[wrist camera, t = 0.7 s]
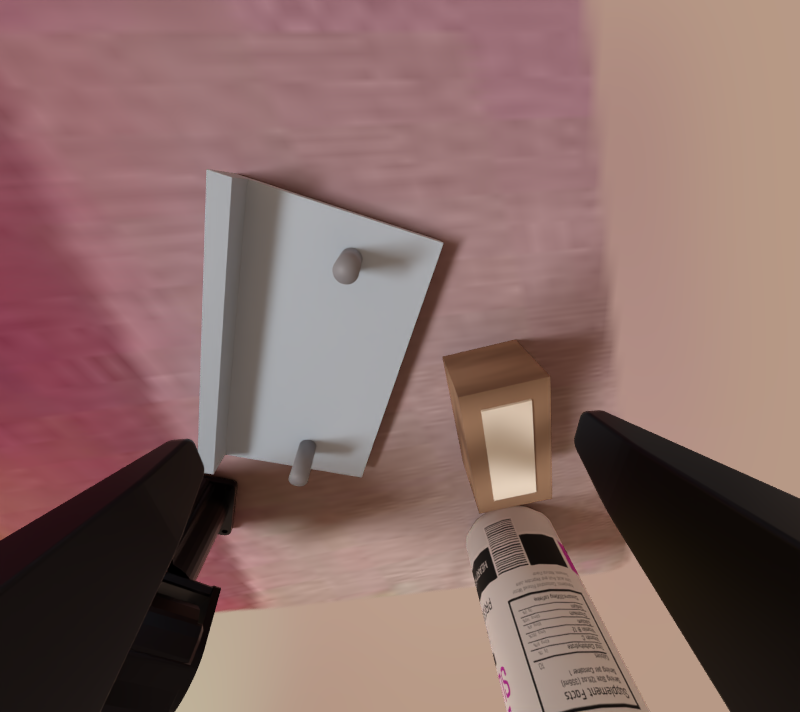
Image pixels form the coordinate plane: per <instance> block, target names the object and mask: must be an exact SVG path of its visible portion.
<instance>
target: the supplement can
mask: <svg viewBox="0 0 800 712" xmlns="http://www.w3.org/2000/svg"><path fill="white" fill-rule="evenodd" d="M466 548H467V552H468V556H469V560H470V564H471V568H472V572H473V576H474V580H475V584H476V588H477V592H478V596H479V600H480V604H481V608H482V612H483V616H484V620H485V625H486V628H487V633H488V637H489V640H490V645H491V649H492V652H493V656H494V661H495V665H496V669H497V673H498V677H499V681H500V685H501V689H502V693H503V697H504V701H505V705H506V709H507V712H650V710H649V709H648V707H647V705H646V703H645V701H644V699H643V697H642V695H641V693H640V691H639V690H638V688H637V686H636V684H635V682H634V680H633V678H632V676H631V674H630V672H629V670H628V669H627V667H626V665H625V663H624V661H623V659H622V657H621V655H620V653H619V651H618V649H617V648H616V646H615V644H614V642H613V640H612V638H611V636H610V634H609V632H608V630H607V628H606V626H605V625H604V623H603V621H602V619H601V617H600V615H599V613H598V611H597V609H596V607H595V605H594V604H593V602H592V600H591V598H590V596H589V594H588V592H587V590H586V588H585V586H584V584H583V583H582V581H581V579H580V577H579V575H578V573H577V571H576V569H575V567H574V565H573V563H572V562H571V560H570V558H569V556H568V554H567V552H566V550H565V548H564V546H563V544H562V542H561V541H560V539H559V537H558V535H557V533H556V531H555V529H554V527H553V525H552V523H551V521H550V520H549V519H548V518H547V517H546V516H545V515H544V514H543V513H541V512H538V511H535V510H533V509H530V508H528V507H525V506H514V507H509V508H504V509H499V510H494V511H490V512H487V513H485V514H484V515H483V516H481V517H480V518H479V519H477V520H476V522H475V523H474V525H473V526H472V528H471V530H470V531H469V533H468V534H467V538H466Z"/></svg>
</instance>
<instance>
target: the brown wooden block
mask: <svg viewBox="0 0 800 712" xmlns="http://www.w3.org/2000/svg"><path fill="white" fill-rule="evenodd" d="M443 362H444V367H445V372H446V378H447V383H448V388H449V393H450V398H451V403H452V408H453V413H454V418H455V423H456V428H457V434H458V439H459V444H460V449H461V454H462V459H463V463H464V466H465V469H466V472H467V475H468V479H469V482H470V485H471V488H472V491H473V494H474V498H475V501H476V504H477V507H478V510H479V513H485V512H490V511H494V510H499V509H504V508H509V507H514V506H518V505H523V504H528V503H533V502H538V501H542V500H547V499H552V461H551V386H550V376H549V374H548V373H547V372H546V371H545V370H544V369H543V368H542V367H541V366H540V365H539V364H538V363H537V362H536V361H535V360H534V359H533V358H532V357H531V355H530V354H529V353H528V352H527V351H526V350H525V349H524V348H523V347H522V346H521V345H520V344H519V343H518V342H517V341H516V340H511V341H507V342H503V343H499V344H494V345H490V346H486V347H482V348H477V349H473V350H469V351H465V352H460V353H456V354H452V355H448V356H444V357H443Z"/></svg>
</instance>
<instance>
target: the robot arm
mask: <svg viewBox="0 0 800 712" xmlns="http://www.w3.org/2000/svg"><path fill="white" fill-rule="evenodd" d="M574 443H575V447H576V450H577V452H578V454H579V456H580V458H581V460H582V462H583V464H584V466H585V468H586V470H587V472H588V474H589V476H590V478H591V480H592V482H593V484H594V486H595V488H596V491H597V493H598V495H599V497H600V499H601V501H602V502H603V504H604V506H605V508H606V510H607V512H608V513H609V515H610V517H611V518H612V520H613V522H614V523H615V525H616V527H617V528H618V530H619V532H620V533H621V535H622V536H623V538H624V540H625V541H626V543H627V545H628V546H629V548H630V549H631V551H632V553H633V554H634V556H635V557H636V559H637V561H638V562H639V564H640V566H641V567H642V569H643V571H644V572H645V574H646V576H647V577H648V579H649V580H650V582H651V583H652V585H653V587H654V588H655V590H656V592H657V593H658V595H659V597H660V598H661V600H662V601H663V603H664V605H665V606H666V608H667V610H668V611H669V613H670V615H671V616H672V617H673V619H674V621H675V623H676V624H677V626H678V628H679V629H680V631H681V632H682V634H683V636H684V637H685V639H686V641H687V642H688V644H689V645H690V647H691V649H692V650H693V652H694V654H695V655H696V657H697V658H698V660H699V662H700V663H701V665H702V666H703V668H704V670H705V672H706V673H707V675H708V676H709V678H710V680H711V681H712V683H713V684H714V686H715V688H716V689H717V691H718V693H719V694H720V696H721V698H722V699H723V701H724V702H725V704H726V706H727V707H728V709H729V711H730V712H800V498H797V497H795V496H793V495H791V494H788V493H786V492H784V491H782V490H779V489H777V488H775V487H773V486H770V485H768V484H766V483H764V482H762V481H759V480H757V479H755V478H753V477H750V476H748V475H746V474H744V473H741V472H739V471H737V470H735V469H732V468H730V467H728V466H726V465H723V464H721V463H719V462H717V461H714V460H712V459H710V458H708V457H705V456H703V455H701V454H699V453H696V452H694V451H692V450H690V449H688V448H685V447H683V446H681V445H678V444H676V443H674V442H672V441H670V440H667V439H665V438H663V437H661V436H658V435H656V434H654V433H652V432H649V431H647V430H645V429H642V428H640V427H638V426H635V425H634V424H631V423H629V422H627V421H625V420H623V419H620V418H618V417H616V416H614V415H611V414H609V413H607V412H605V411H600V410H597V411H586V412H583V413H582V415H581V417H580V420H579V423H578V427H577V430H576V434H575V438H574ZM236 493H237V483H236V482H235V481H233V480H228V479H222V478H215V477H209V476H204V464H203V462H202V460H201V457H200V455H199V453H198V450H197V448H196V446H195V443H194V442H193V441H192V440H190V439H178V440H170V441H168V442H166V443H164V444H163V445H161V446H159V447H158V448H156V449H154V450H153V451H151V452H149V453H148V454H146V455H144V456H142V457H141V458H139V459H137V460H136V461H134V462H132V463H131V464H129V465H127V466H126V467H124V468H122V469H120V470H119V471H117V472H115V473H114V474H112V475H110V476H109V477H107V478H105V479H104V480H102V481H100V482H99V483H97V484H95V485H93V486H92V487H90V488H88V489H87V490H85V491H83V492H82V493H80V494H78V495H77V496H75V497H73V498H72V499H70V500H68V501H66V502H65V503H63V504H61V505H60V506H58V507H56V508H55V509H53V510H51V511H50V512H48V513H46V514H45V515H43V516H41V517H39V518H38V519H36V520H34V521H33V522H31V523H29V524H28V525H26V526H24V527H23V528H21V529H19V530H17V531H16V532H14V533H12V534H11V535H9V536H7V537H6V538H4V539H2V540H1V541H0V712H175V711H176V709H177V707H178V706H179V704H180V703H181V701H182V699H183V697H184V696H185V694H186V692H187V690H188V688H189V686H190V684H191V682H192V680H193V678H194V676H195V674H196V671H197V669H198V666H199V664H200V661H201V659H202V655H203V652H204V649H205V645H206V641H207V638H208V634H209V631H210V627H211V623H212V620H213V616H214V612H215V609H216V605H217V601H218V598H219V594H220V591H221V588H220V587H217V586H209V585H206V584H203V583H200V582H197V581H196V579H197V577H198V575H199V573H200V571H201V568H202V566H203V564H204V562H205V560H206V558H207V556H208V554H209V552H210V549H211V547H212V545H213V543H214V541H215V539H216V537H217V535H218V534H220V535H229V534H230V533H231V531H232V528H233V520H234V511H235V502H236Z"/></svg>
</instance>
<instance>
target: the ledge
mask: <svg viewBox="0 0 800 712" xmlns="http://www.w3.org/2000/svg"><path fill="white" fill-rule="evenodd" d="M442 246H443V242H441V241H440V240H437V239H434V238H431V237H428V236H425V235H422V234H419V233H416V232H413V231H410V230H407V229H404V228H401V227H398V226H395V225H392V224H388V223H385V222H382V221H379V220H376V219H373V218H370V217H367V216H364V215H361V214H358V213H355V212H352V211H349V210H346V209H343V208H340V207H337V206H334V205H330V204H327V203H324V202H321V201H318V200H315V199H312V198H309V197H306V196H303V195H300V194H297V193H294V192H291V191H288V190H285V189H282V188H279V187H276V186H272V185H269V184H266V183H263V182H260V181H257V180H254V179H251V178H248V177H245V176H242V175H239V174H236V173H229V172H222V171H215V170H209V169H207V173H206V206H205V238H204V271H203V303H202V336H201V368H200V401H199V433H198V453H199V455H200V457H201V460H202V462H203V464H204V473H208V474H214V473H215V471H216V469H217V468H218V466H219V464H220V463H221V461H222V459H223V457H224V456H225V455H231V456H237V457H243V458H249V459H255V460H261V461H267V462H273V463H279V464H285V465H290V466H292V469H291V472H290V476H289V482H290V483H291V484H292V485H295V486H303V485H305V484H307V482H308V479H309V475H310V471H311V469H314V470H320V471H326V472H332V473H338V474H344V475H350V476H356V477H362V475H363V472H364V469H365V466H366V463H367V461H368V458H369V455H370V452H371V449H372V446H373V443H374V441H375V438H376V435H377V432H378V429H379V426H380V423H381V421H382V418H383V415H384V412H385V409H386V406H387V403H388V401H389V398H390V395H391V392H392V389H393V386H394V383H395V381H396V378H397V375H398V372H399V369H400V366H401V363H402V361H403V358H404V355H405V352H406V349H407V346H408V343H409V341H410V338H411V335H412V332H413V329H414V326H415V323H416V321H417V318H418V315H419V312H420V309H421V306H422V303H423V301H424V298H425V295H426V292H427V289H428V286H429V283H430V281H431V278H432V275H433V272H434V269H435V266H436V263H437V261H438V258H439V255H440V252H441V249H442Z"/></svg>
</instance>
